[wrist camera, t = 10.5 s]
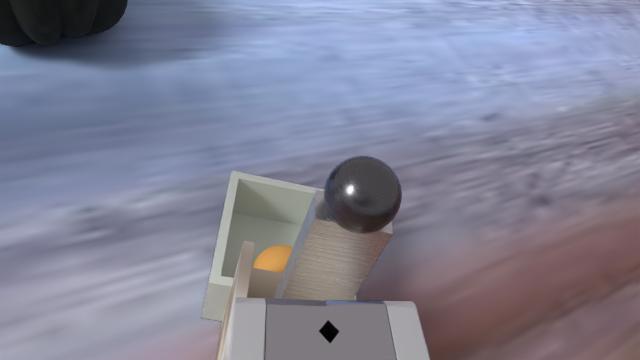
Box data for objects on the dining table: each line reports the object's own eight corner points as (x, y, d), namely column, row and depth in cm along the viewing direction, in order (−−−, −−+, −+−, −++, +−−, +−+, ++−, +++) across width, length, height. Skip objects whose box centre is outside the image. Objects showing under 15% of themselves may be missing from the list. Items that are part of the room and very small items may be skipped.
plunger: (323, 381, 29) (439, 213, 18) (240, 368, 28) (311, 186, 18) (325, 331, 31) (431, 154, 20) (247, 319, 30) (315, 128, 20)
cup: (336, 339, 38) (356, 307, 34) (201, 317, 36) (208, 282, 33) (338, 231, 44) (355, 196, 41) (222, 208, 42) (231, 170, 39)
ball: (235, 299, 35) (242, 252, 38) (281, 325, 37) (284, 279, 40) (277, 269, 33) (281, 223, 37) (324, 298, 35) (323, 252, 38)
